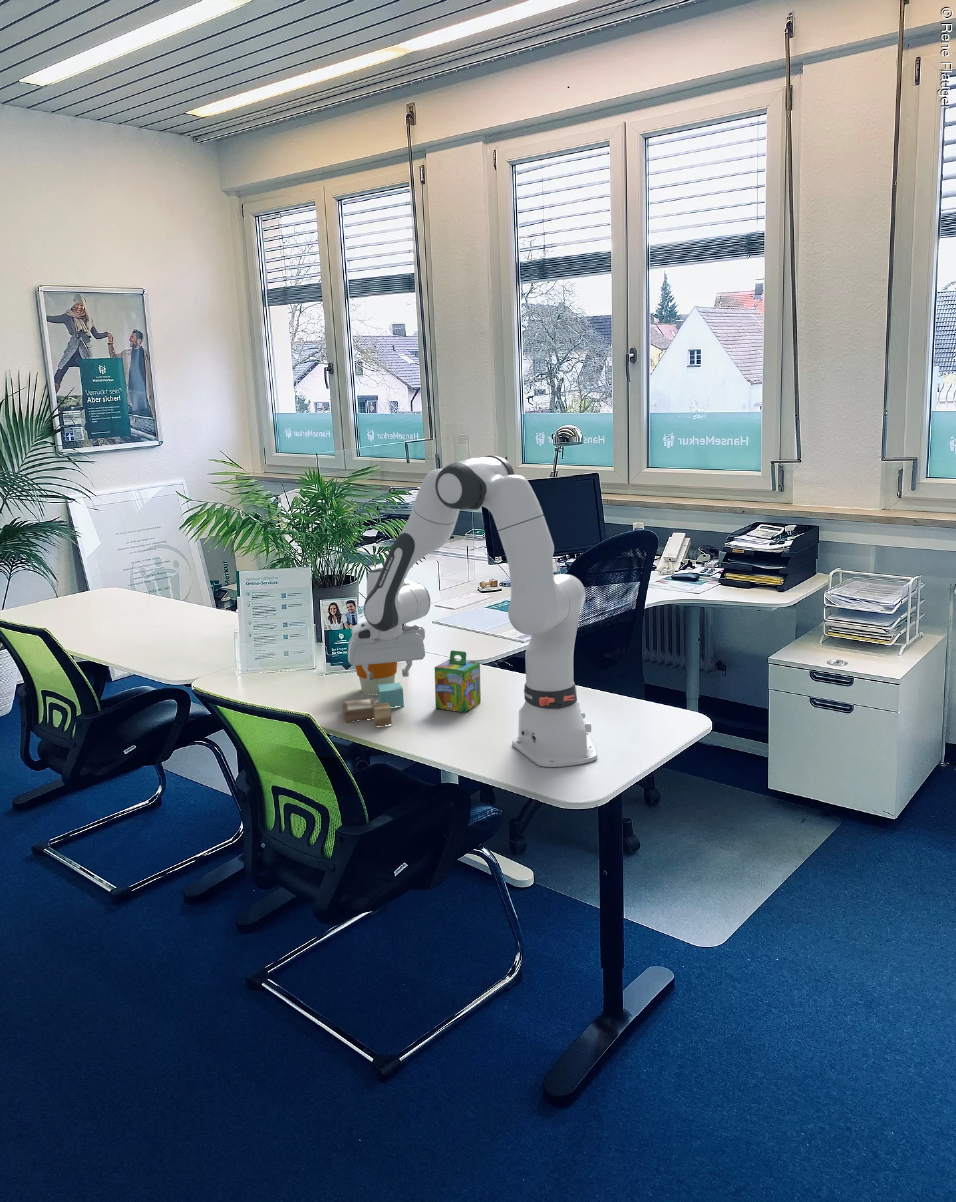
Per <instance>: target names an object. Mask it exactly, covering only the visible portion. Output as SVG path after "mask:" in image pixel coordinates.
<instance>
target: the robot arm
mask: <svg viewBox="0 0 956 1202" xmlns="http://www.w3.org/2000/svg"><path fill="white" fill-rule="evenodd" d="M414 499H415V500H414V503H413V505H412V509H411V512H410V515H409V517H408V519H407V521H406V523H405V525H404V527H403V529H402V530H401V531H400V533H399V534H398V536H397V537H396V539H395V540H394V541H393V543H392V545H391V548H390V550H389V552H388V554H387V556H386V559H385V561H384V563H383V565H382V567H379V568H375V569H372V570H371V571H370V572H369V573H368V574H367V578H366V579H367V580H366V598H365V600H364V605H363V615H364V617H365V621H362V622H360V623H358V624H355V625H353V626H351V637H350V638H349V641H348V647H347V648H348V649H347V651H348V652H347V655H348V656H347V660H348V663H349V664H350V666H353V667H354V666H356V665H362V667H363V669H364V671H365V672H366V674H367V680H373V673H372V672H369V671H368V670H367V668H368V664H378V663H389V662H397V663H398V662H405V663H406V666H405V667H404V668H401V673H402V674H401V676H402V677H403V678H404V677H405V678H406V677H409V675H410V674H409V671H410V669H411V667H412V666H413V661H419V660H420V661H421V660H424V658H425V656H426V649H425V643H424V640H425V638H426V631H425V629H424V627H422V626H420V625H419V624H415V625H405V624H408V623H411V622H413V621H417V620H419V619H421V618H424V617H425V616H426V615H428V613H429V611H430V610H431V609H430V608H431V597H430V594H429V591H428V589H427V588H426V587H425V586H424V585H422V584H421V583H419V582H415V581H412V580H410V579H408V578H407V575H408V573H409V571H410V569H411V568H413V566H414V565H415V564H416V563H417V562H419V561H420V560H422V558H424V557H426V556H428V555H429V554H432V553H433V552H435V551H437V550H438V549H440V548H441V547H443V546H445V545H446V544H447V542H448V541H449V540H450V538H451V537H452V534H453V532H454V530H455V527H456V524H457V521H458V518H459V514H460V511H461V510H464V511H466V510H473V511H474V510H479V509H480V508H481V507H483V508H486V509H487V510H488V511H489V512H490V513H491V515H492V518H493V521H494V524H495V526H496V530H497V532H498V536H499V539H500V541H501V545H502V548H503V550H504V554H505V558H506V561H507V566H508V570H509V581H510V601H509V604H508V608H507V615H508V620H509V622H510V624H511V626H512V627H513V628H514V629H515V630H516V631H517V632H518V633H520V634H523V635H526V636H528V635H529V636H530V640H529V642H528V645H527V647H526V650H525V655H524V656H525V683H524V689H523V693H524V694H523V695H524V700H525V701H524V703H523V705H522V706H521V708H520V709H519V710H518V727H517V728H518V732H517V733H518V735H517V737H516V738H514V739H512V742H511V744H512V747H513V748H515V749H517V750H518V751H519V752H520V753H521V754H523V755H524V756H525V757H527V758H528V759H529V760H531V761H532V762H533V763H535V764H536V765H537V766H539V767H544V768H545V767H546V768H553V767H554V768H556V767H557V768H558V767H560V768H562V767H569V766H570V767H571V766H577V765H583V764H586V763H590V762H593V761H595V760H597V759H598V753H597V751H596V749H595V748H596V747H595V745H594V742H593V740H592V737H591V735H590V734H591V732H592V724H591V722H585V721H584V719H585V718H586V713H585V712H584V711H583V712H582V711H581V707H580V703H579V702H578V697H577V695H578V694H577V693H578V692H577V688H576V683H575V681H574V651H575V643H576V636H577V631H578V627H579V619H580V614H581V611H582V608H583V606H584V604H585V602H586V589H585V586H584V584H583V583H582V581H581V580H580V579H579V578H577V577H576V576H574V575H572V574H566V573H557V574H554V567H553V566H554V563H553V557H554V553H555V545H554V542H553V541H554V540H553V538H552V535H551V532H550V529H549V526H548V524H547V521H546V517H545V515H544V512H543V509H542V506H541V505H540V501H539V500H538V499H539V498H537V496H536V493H535V491H534V489H533V488H532V485H531V484H530V482H529V481H528V479H527V478H525V476H522V475H520V474H515V471H514V468H513V466H512V465H511V463H510V462H509V461H508V460H507V459H506V458H503V457H501V456H498V455H486V456H482V457H470V458H465V459H463V460H460V461H457V462H456V461H455V462H452V463H450V464H449V465H448V464H447V466H444V467H443V468H435V469H433V470H431V471H429V472H428V473H426V475H425V477H424V479H423V481H422V483H421V484H420V487H419V489H418V492H417V495H416V497H415V498H414Z"/></svg>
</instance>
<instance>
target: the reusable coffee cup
mask: <svg viewBox="0 0 956 1202" xmlns="http://www.w3.org/2000/svg"><path fill="white" fill-rule="evenodd" d="M397 669H398V662H389V663H378V664H368V668H367V670H368V671H369V672H372V673H373V680H367V674H366V672H365V671H364V669H363V667H362V665H356V666H355V671H356V675H357V677H358V679H359V683H360V687H361V692H362V694H365V695H367V694H371V695H370V696H377V695H376V694H378V685H380V684H390V683H396V682H395V681H396V679H395V677H396V674H397V671H398V670H397ZM372 694H373V695H372ZM374 694H375V695H374Z"/></svg>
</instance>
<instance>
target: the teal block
mask: <svg viewBox="0 0 956 1202" xmlns="http://www.w3.org/2000/svg"><path fill="white" fill-rule="evenodd" d="M377 696H378V703H386V702H389V705H390V707H395V706H404V707H405V702H404V689H403V686H402V684H401V682H394V683H390V684H380V685H378V695H377Z"/></svg>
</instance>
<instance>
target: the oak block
mask: <svg viewBox="0 0 956 1202" xmlns="http://www.w3.org/2000/svg"><path fill="white" fill-rule="evenodd" d="M373 715H374V720H373V724H374V723H375V724H374V726H385V725H389V724H392V708H391V707H390V705H389V702H386V703H379V702H378V703H375V704H373ZM392 725H393V724H392Z"/></svg>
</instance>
